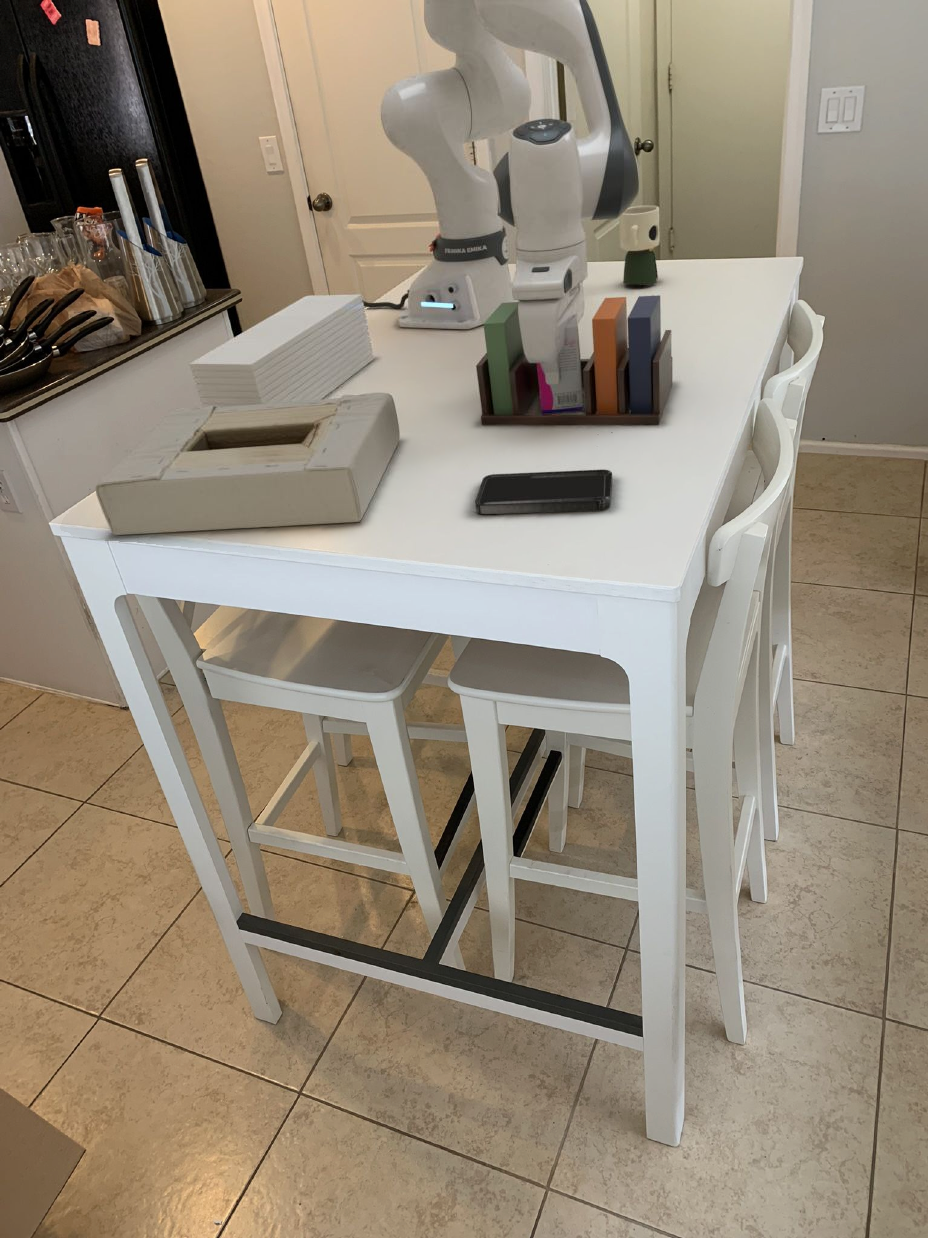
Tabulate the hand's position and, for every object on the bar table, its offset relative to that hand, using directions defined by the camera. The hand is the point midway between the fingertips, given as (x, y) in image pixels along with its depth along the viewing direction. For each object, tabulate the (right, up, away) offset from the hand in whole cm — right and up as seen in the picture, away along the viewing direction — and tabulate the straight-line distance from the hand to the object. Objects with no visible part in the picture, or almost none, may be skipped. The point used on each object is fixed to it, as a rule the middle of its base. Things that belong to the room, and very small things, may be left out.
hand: (559, 372), depth 122 cm
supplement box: (+1, -4, +3) cm, 5 cm away
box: (-38, -16, -7) cm, 42 cm away
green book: (-6, -3, +5) cm, 8 cm away
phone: (-4, -19, -19) cm, 28 cm away
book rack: (+3, -4, +2) cm, 5 cm away
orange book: (+7, -4, 0) cm, 8 cm away
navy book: (+11, -5, -1) cm, 12 cm away
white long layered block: (-39, +2, +21) cm, 44 cm away
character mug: (+20, +29, +46) cm, 58 cm away
